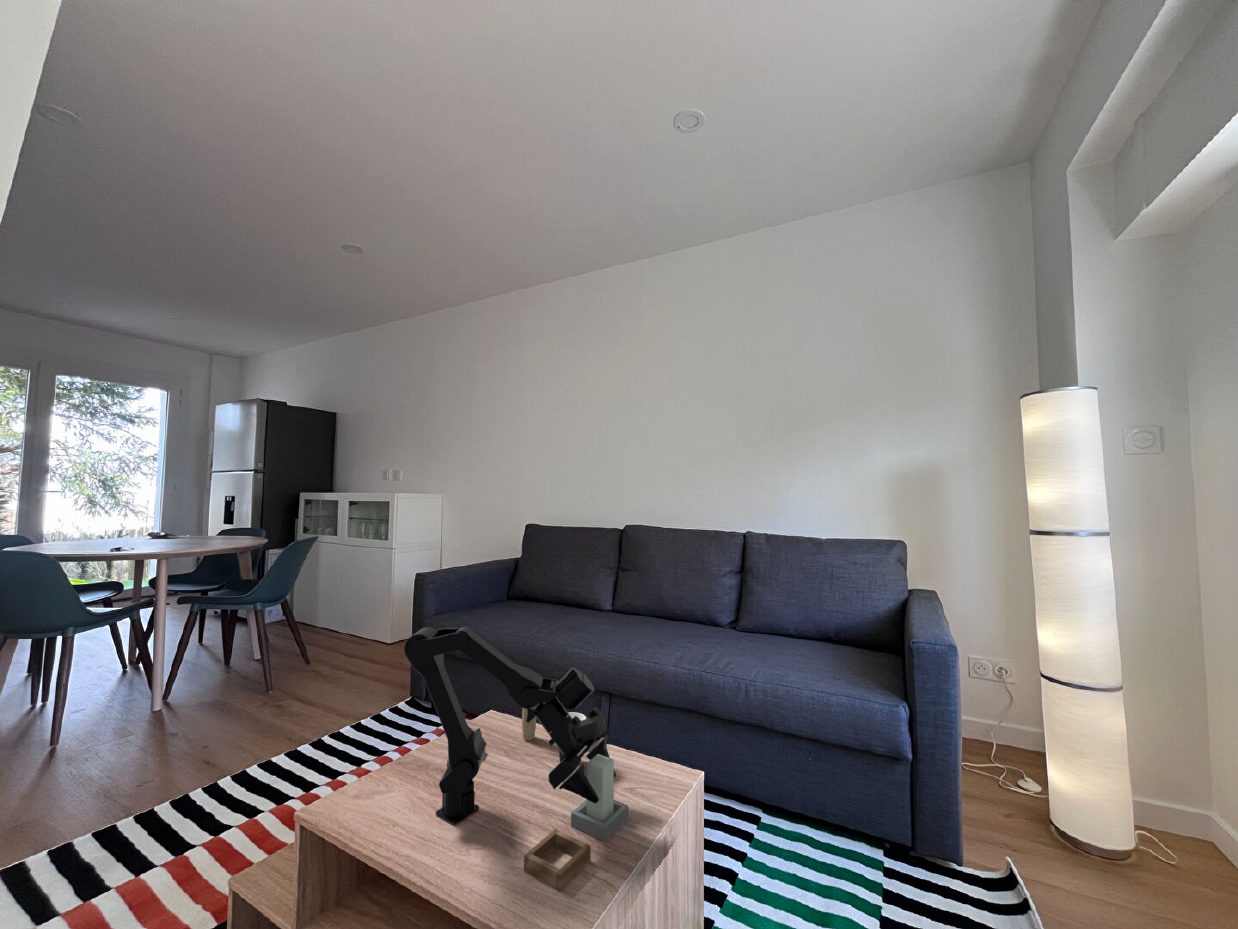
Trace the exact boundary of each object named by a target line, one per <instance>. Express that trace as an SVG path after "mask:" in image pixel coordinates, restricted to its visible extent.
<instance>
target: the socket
mask: <svg viewBox="0 0 1238 929" xmlns="http://www.w3.org/2000/svg"><path fill="white" fill-rule="evenodd" d="M629 807H630V805H628V804H625V803H624V802H621V801H618V800H616V799H614V814H613V815H612V816H611V817H610V818H609V819H608V820H607V821H606V822H605V823H602V822H600V821H597V820H595V819H593V818H591V817H588V816H586V815H587V799H585V800H584V801H583V802H582V803H581V804H580V805H579V806H577V807H576V808H575V809H574V810H573V811H571V812H570V826H571V827H573V828H575V829H577V830H579V831H582V832H584V833H585V834H588V835H590V836H592V837H594V838H596V839H598V840H601V841H603V842H607V841H608V838H609V837H610V838H611V836H612V835H614V833H616V831H617V830H619V828H620V827H621V826H622V825H623V824H624V823H626V821H627V820H628V819H629V815H630V813H629V812H630V811H629V810H630V809H629ZM606 840H607V841H606Z"/></svg>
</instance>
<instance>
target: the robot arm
mask: <svg viewBox="0 0 1238 929" xmlns="http://www.w3.org/2000/svg"><path fill="white" fill-rule="evenodd" d="M454 651H460V652H461V653H462V654H464V655H465V656H467V657H468V658H469V659H470V660H472V661H473V662H474V663H476V664H477V665H478V666H479V667H481V668H482V669H483V670H484V671H486V672H487V673H488V674H490V675H491V676H492V677H493V678H495V679H496V680H498V681H499V682H500V683H501V684H502V686H503V687H504V688H505V690H506V692H507V693H508V695H509V696H510V697H511V699H513V700H514V702H516V703H517V705H518V706H519V707H520V708H522V709H523V708H524V709H527V711H528V714H527V719H526V722H527V723H529V722H530V721H532V720H533V719H534V718H535V717H536V720H538V722H539V723H540V725H541V727H543V729H544V730H545V731H546V734H548V735H549V737H550V739H549V741H548V744H549V745H550V746H553V745H554V744H555V745H556V747H557V748H558V751H559V750H560V751H561V753H562V754H563V756H562V757H561V758H560V759H561V760H562V761H561V762H560V761H559V763H558V764H556V766H554V768H553V769H552V770H551V771H550V772H549V773H548V778H547V779H548V780H547V781H548V783H549V784H550V785H551V787H552V789H553V790H555V789H557V788H558V789H559V790H562V789H563V790H565V791H569V792H570V793H573V794H575V795H577V796H580V797H581V798H583V799H585V800H589V801H591V802H593V803H595V804H596V803H597V802H598V801H599V798H598V796H597V794H596V792H595V791H594V789H593V787H592V786H591V784H590V783H589V781H588V779H587V775H586V774H585V764H584V763H582V764H581V761H580V758H581V759H582V757H583V756H584V755H585V754H586V753H588V754H587V755H586V756H585V757H586V758H587V759H588V761H590V760H591V759H592V758H594V757H595V756H596V755H598V754H599V755H602V756H605V757H608V758H611V757H610V754H609V750H608V748H607V747H608V739H609V734H608V732H610V730H609V728H608V727H607V726H606V722H605V720H606V719H607V715H605V714H604V712H603V711H602V710H601V709H600V708H599V707H595V708H592V710H590V711H589V713H588V716H586V719H585V720H582V721H581V720H580V719H579V718H578V717H576V716H575V717H574V718H573V719H572V717H571V716H570V715H569V712H568V711H567V710H570V711H571V710H572V709H573V710H576V709H577V708H578V707H579V706H580V705H581V704H582V703H583V702H584V701H585V700H586V699H587V698H588V697H589V696H590V695H592V694H593V693H594V691H595V687H594V685H593V683H592V682H591V680H590V679H589V677H588V676H587V675H586V674H585V673H583V672H581V671H580V670H578V669H577V668H576V667H575V666H572V667H571V668H570V669H568V670H567V672H566V674H565V675H564V676H563V677H562V678H560V679H559V680H558V679H555V678H549V677H543V676H541V674H540V673H538V672H536V671H535V670H532V669H531V668H528V667H526V666H522V665H518V664H516V663H515V662H513V661H512V660H510V659H509V658H508V657H506V656H505V655H504V654H503V653H501V652H500V651H498V650H497V649H496V648H494V646H492V645H491V644H490V643H488V642H487V641H486V640H484V638H481V637H480V636H479V634H477V633H475V632H474V631H473V629H472V628H470V627H468V626H462V627H455V628H454V627H453V628H452V627H449V628H447V627H446V628H438V629H436V628H433V627H430V626H427V627H423V628H421V629H419V630H418V631H417V632H415V633H414V634H412V635H411V636H409V638H408V639H407V640H406V642H405V644H404V646H403V652H404V655H405V657H406V658H407V661H408V662H409V663H410V665H411V667H412V668H413V670H415V671H416V672H417V673H418V674H419V675H420V676H421V677H422V678H423V680H424V683H425V685H426V688H427V690H428V693H429V695H430V698H431V701H432V703H433V706H434V708H435V711H436V713H437V716H438V718H439V721H440V724H441V726H442V728H443V731H444V733H445V737H446V739H447V753H448V754H447V757H448V758H447V760H448V759H449V766H448V767H447V768H446V769H445V771H444V773H443V775H442V777H441V779H440V781H439V784H438V785H439V789H440V792H441V793H442V801H441V803H442V804H441V806H442V807H441V808H439V809H438V810H436V811H435V815H436V816H438V817H439V818H441V819H443V820H445V821H446V822H448V823H450V824H452V825H453V826H455V825H458V824H459V823H461V822H462V821H464V820H465V819H467V818H468V817H470V816H471V815H473V814H474V813H476V812H477V811H479V810H480V806H479V804H476V803H475V802H476V801H475V798H476V797H475V796H476V792H475V782H474V781H473V779H474V778H476V776H477V775H478V773H479V771H480V768H481V765H482V764H483V760H484V758H485V756H486V746H487V742H486V741H485V740H484V738H483V734H482V731H481V728H480V727H479V728H477V729H475V730H474V729H472V728H471V727H470V726H469V725H468V723H467V721H466V718H465V715H464V713H463V710H462V707H461V705H460V702H459V700H458V697H457V694H456V692H455V690H454V689H455V688H454V687H453V684H452V682H451V680H450V677H449V675H448V672H447V670H446V667H445V664H444V663H445V660H444V654H446V653H451V652H454ZM568 715H569V716H568ZM567 716H568V717H567ZM575 753H577V754H575ZM560 759H559V760H560ZM615 770H616V769H614V779H615V778H616V776H617V773H616V771H615Z"/></svg>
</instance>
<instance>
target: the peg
mask: <svg viewBox="0 0 1238 929" xmlns="http://www.w3.org/2000/svg"><path fill="white" fill-rule="evenodd" d="M614 764H615V760H614V759H613V758H611V757H610V758H608V757H605V756H602V755H599V754H598V755H596V756H595V757H594V758H592V759H591V760H588V761H587V762H586V778H587V779H588V781H589V783H590V784H591V786H592V787H593V789H594V791H595V792H596V794H597V796H598V798H599V801H598V802H597V803H596V804H595V803H593V802H591V801H589V800H587V799H586V800H587V815H586V816H588V817H591V818H593V819H595V820H597V821H600V822H602V823H605V822H606V821H607V820H608V819H609V818H610V817H611V816H612V815H613V814H614V800H615V799H614V798H615V797H614V790H615V789H614V788H615V787H614V786H615V782H614V781H615V778H614V770H615V767H614V766H615V765H614Z"/></svg>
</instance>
